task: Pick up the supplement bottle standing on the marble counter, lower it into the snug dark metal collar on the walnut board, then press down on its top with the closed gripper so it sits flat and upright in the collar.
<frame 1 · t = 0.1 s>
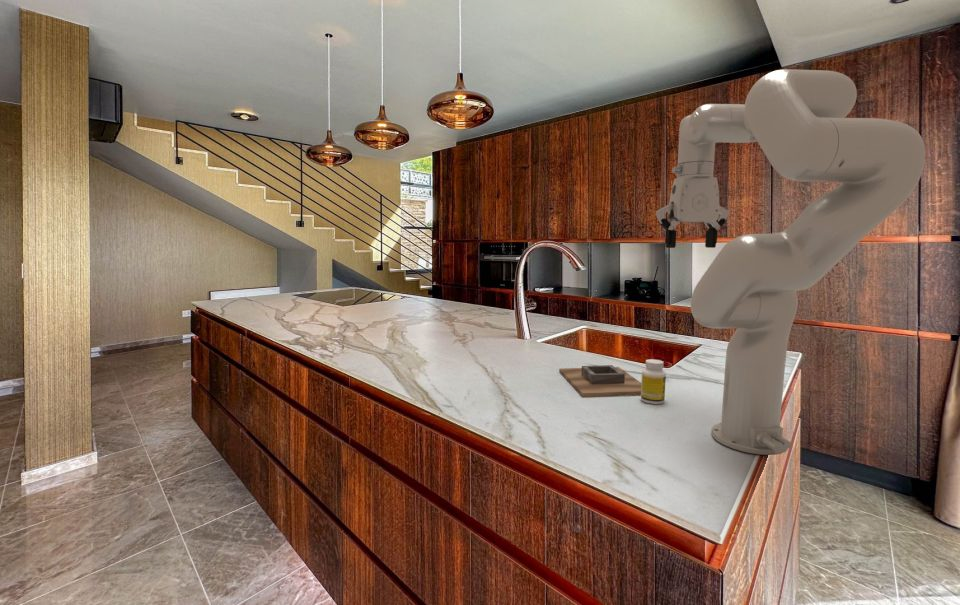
hand: (690, 247, 105), 37 cm above the counter, tool pointing down, fingers open, 9 cm apart
collar board: (602, 382, 123), on the counter
supplement bottle: (652, 401, 108), on the counter
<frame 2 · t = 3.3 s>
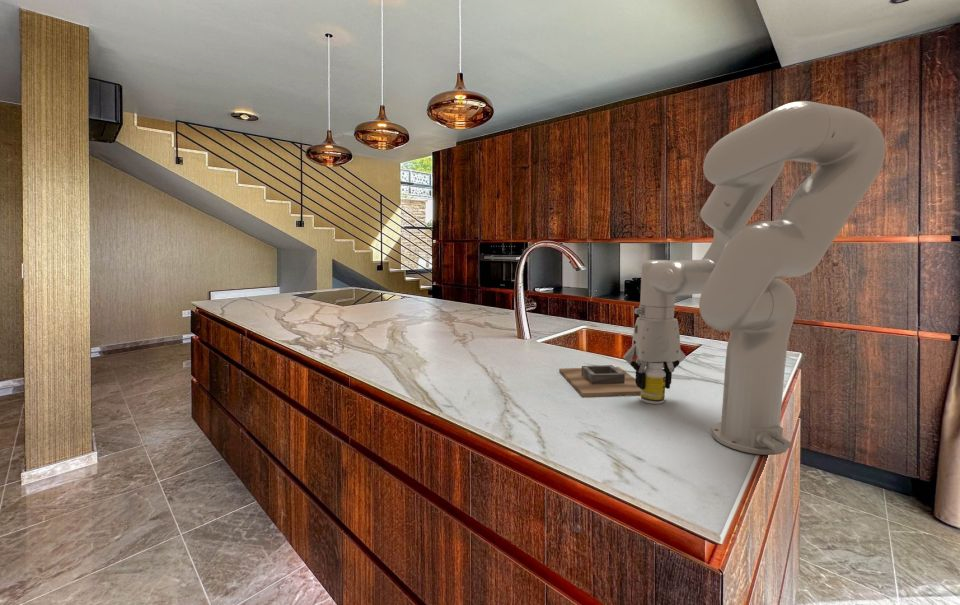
hand: (653, 386, 108), 4 cm above the counter, tool pointing down, fingers closed on supplement bottle, 5 cm apart
supplement bottle: (652, 401, 108), on the counter, touching gripper
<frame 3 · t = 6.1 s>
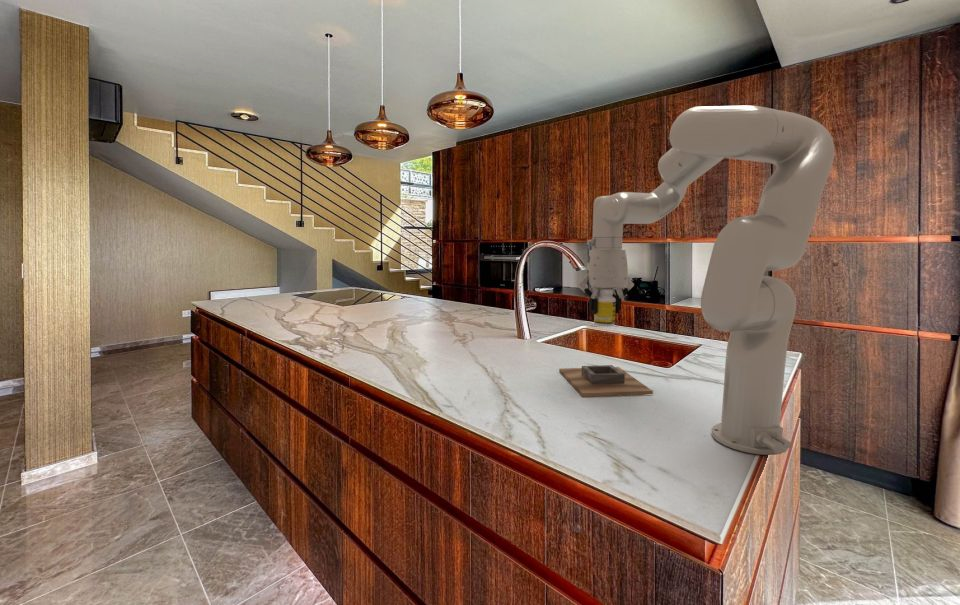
hand: (604, 312, 120), 19 cm above the counter, tool pointing down, fingers closed on supplement bottle, 5 cm apart
supplement bottle: (604, 325, 120), point 16 cm above the counter, touching gripper
when the fingers open (5 cm above the counter, at t = 9.1 s): supplement bottle stays where it is, resting on collar board.
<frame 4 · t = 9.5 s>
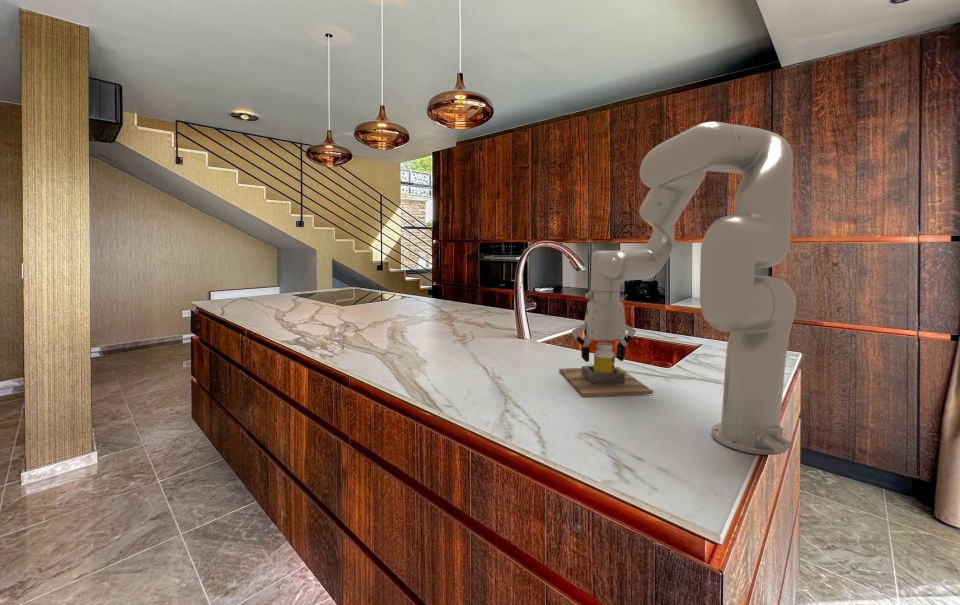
hand: (602, 360, 122), 6 cm above the counter, tool pointing down, fingers open, 9 cm apart
supplement bottle: (603, 379, 122), point 1 cm above the counter, touching collar board
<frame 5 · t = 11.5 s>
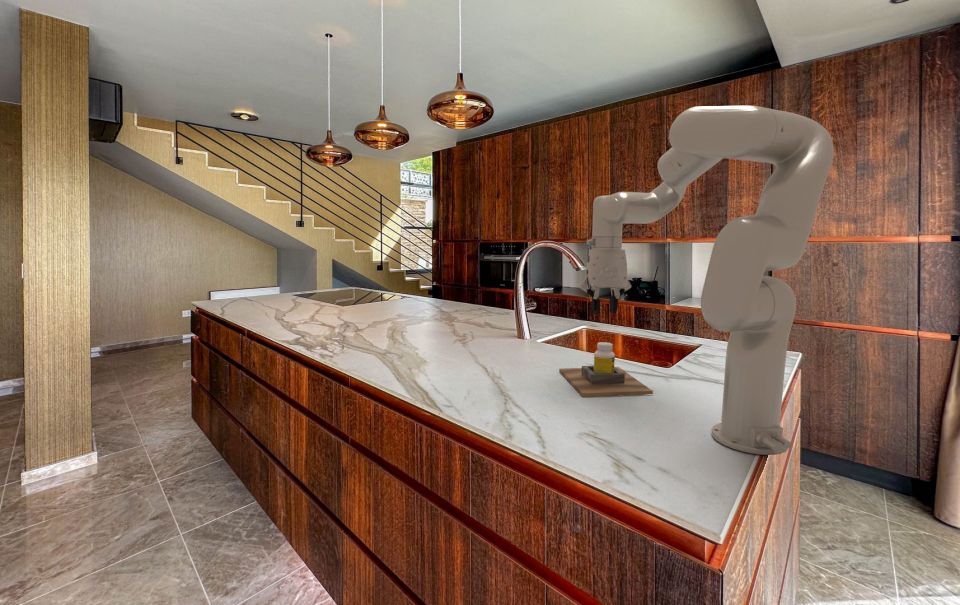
hand: (604, 312, 120), 19 cm above the counter, tool pointing down, fingers open, 3 cm apart
nothing on the counter moved.
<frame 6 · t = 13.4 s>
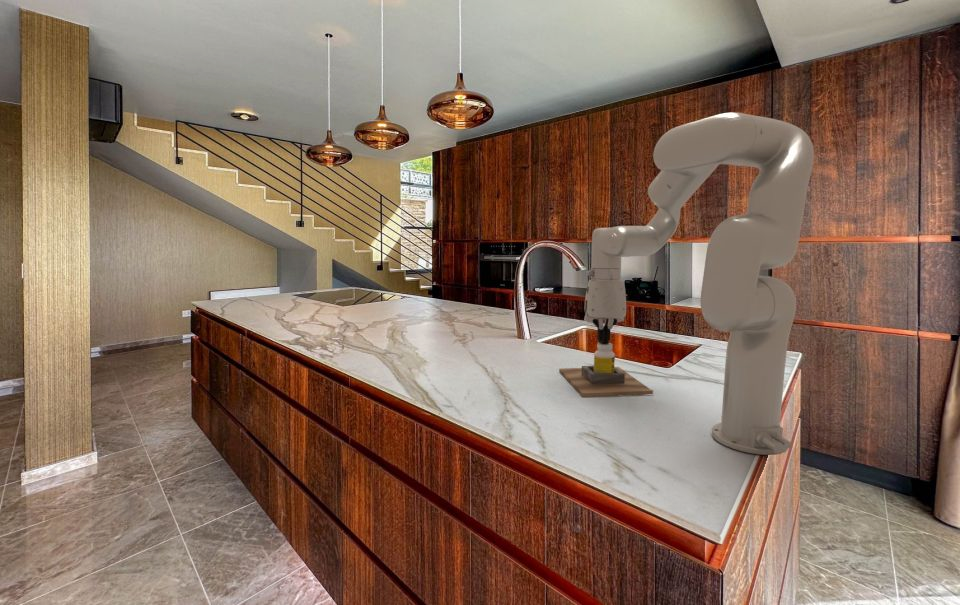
hand: (603, 342, 121), 11 cm above the counter, tool pointing down, fingers closed
nothing on the counter moved.
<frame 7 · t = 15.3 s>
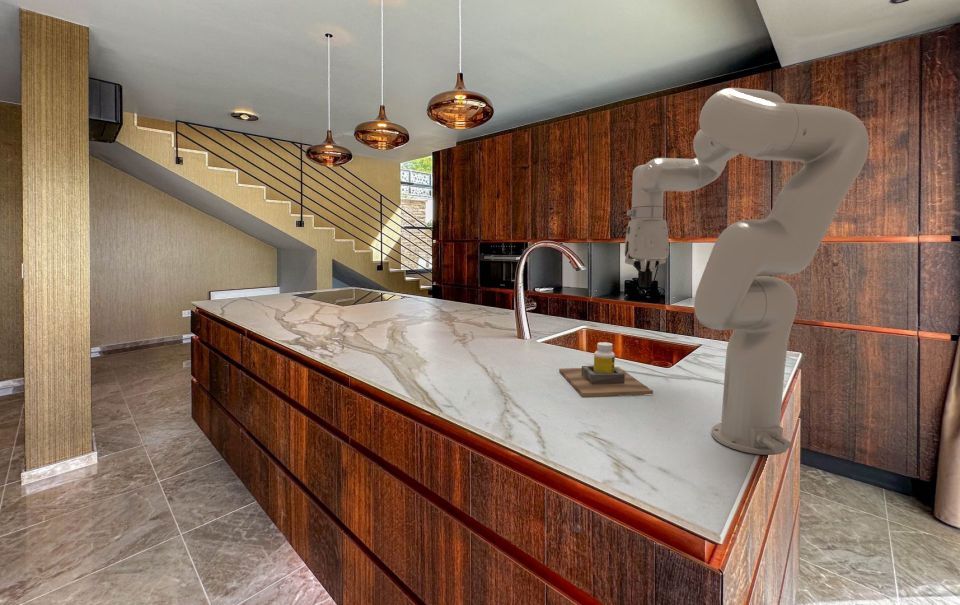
hand: (644, 286, 117), 26 cm above the counter, tool pointing down, fingers closed
nothing on the counter moved.
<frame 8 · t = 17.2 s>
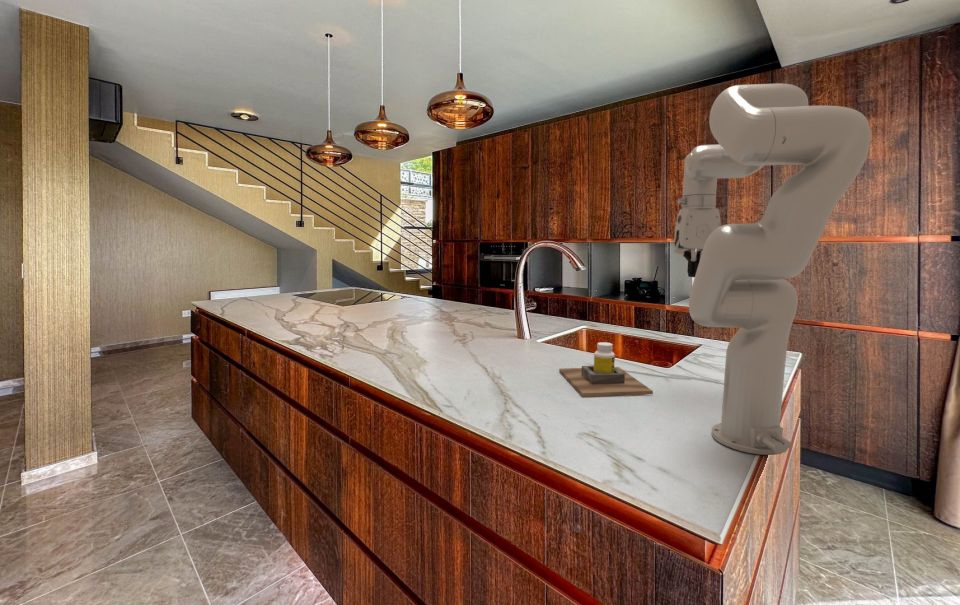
hand: (694, 276, 115), 29 cm above the counter, tool pointing down, fingers closed
nothing on the counter moved.
at the end: supplement bottle 0.4 cm off-centre on the collar board, point 0.8 cm above the collar board's base; supplement bottle tilted 0°; the gripper is holding nothing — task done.
